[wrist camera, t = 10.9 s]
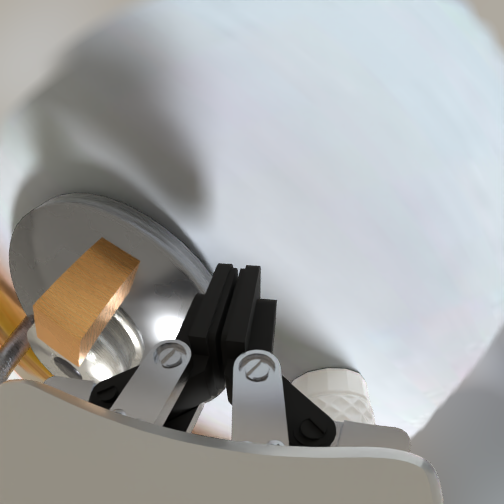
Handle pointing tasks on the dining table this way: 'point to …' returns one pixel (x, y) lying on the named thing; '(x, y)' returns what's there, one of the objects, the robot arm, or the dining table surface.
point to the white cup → (338, 394)
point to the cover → (97, 351)
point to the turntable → (100, 273)
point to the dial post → (14, 349)
